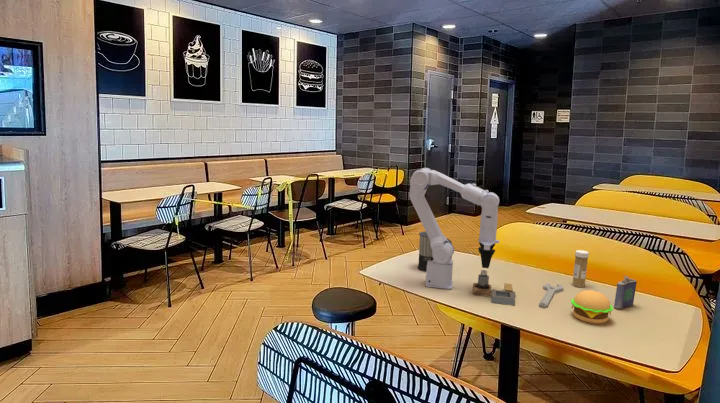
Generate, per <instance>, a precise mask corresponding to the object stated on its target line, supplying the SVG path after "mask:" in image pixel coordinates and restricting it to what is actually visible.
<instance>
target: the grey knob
mask: <svg viewBox="0 0 720 403" xmlns="http://www.w3.org/2000/svg"><path fill="white" fill-rule="evenodd" d="M489 281H490V276H489V275H488V271H487V270H485V269H480V274H478V276H477V283H478V289H487V290H488V284H489Z"/></svg>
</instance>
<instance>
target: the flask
mask: <svg viewBox="0 0 720 403" xmlns="http://www.w3.org/2000/svg"><path fill="white" fill-rule="evenodd" d="M622 277H623V280H621V281H618V282H617V283H616V288H615V289H616V291H615V298H614V303H613V304H614V305H613V309H615V310H618V311H619V310H624V309H627V308H630V307H634V300H635V296H636V288H637V284H638V283H637V280H636V279H633V278H629V276H627V275H623V276H622Z"/></svg>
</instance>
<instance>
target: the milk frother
mask: <svg viewBox="0 0 720 403" xmlns="http://www.w3.org/2000/svg"><path fill="white" fill-rule="evenodd" d="M418 235H419V246H418V247H419V248H418V262H417V263H418V264H417V269H418V270H420V271H423V272H427V262H428V261H433V251H432V249H431V243H430V239H429V237H428V235H427V233H426V231H420V232H419V233H418ZM447 240H448V242H450V243H451V244H452V245H453V242H452V241H451V239H449V238H447ZM453 246H454V245H453ZM452 258H453V255H452V256H451V259H452ZM452 260H453V259H452Z"/></svg>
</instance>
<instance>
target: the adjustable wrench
mask: <svg viewBox="0 0 720 403" xmlns="http://www.w3.org/2000/svg"><path fill="white" fill-rule="evenodd" d="M542 289H543V290H545V291H546V293H545V294H544V296H543V297H542V298H541V300H540V301H539V302H538V307H539V308H540V309H547V308H548V306H549V304H550V303H551V301H552V299H553V297H554V295H555V294H556V293H561V292H564V286H563V285H562V284H559V283H557V284H556V285H555V286H552V285H551V283H550V282H547V283H545V284H544V285H543V286H542Z"/></svg>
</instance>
